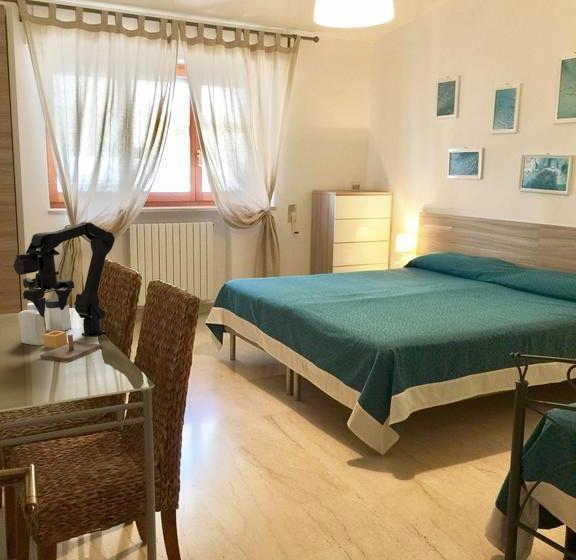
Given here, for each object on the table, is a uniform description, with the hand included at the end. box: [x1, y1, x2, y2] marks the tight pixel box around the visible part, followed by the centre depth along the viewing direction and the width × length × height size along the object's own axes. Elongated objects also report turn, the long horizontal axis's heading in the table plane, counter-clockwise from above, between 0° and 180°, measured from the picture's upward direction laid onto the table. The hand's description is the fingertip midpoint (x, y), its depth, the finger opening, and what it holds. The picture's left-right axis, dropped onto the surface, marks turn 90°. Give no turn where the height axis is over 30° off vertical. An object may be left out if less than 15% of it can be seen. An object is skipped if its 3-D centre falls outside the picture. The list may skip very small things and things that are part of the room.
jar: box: [45, 296, 72, 333], centre depth 235 cm, size 9×8×12 cm
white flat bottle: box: [17, 309, 45, 346], centre depth 218 cm, size 10×4×12 cm, turn 60°
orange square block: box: [43, 331, 68, 349], centre depth 215 cm, size 5×5×4 cm
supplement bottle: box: [26, 302, 48, 334], centre depth 226 cm, size 7×7×13 cm
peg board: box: [39, 334, 103, 363], centre depth 205 cm, size 16×12×6 cm
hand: (52, 313), depth 213 cm, fingers open, 9 cm apart
